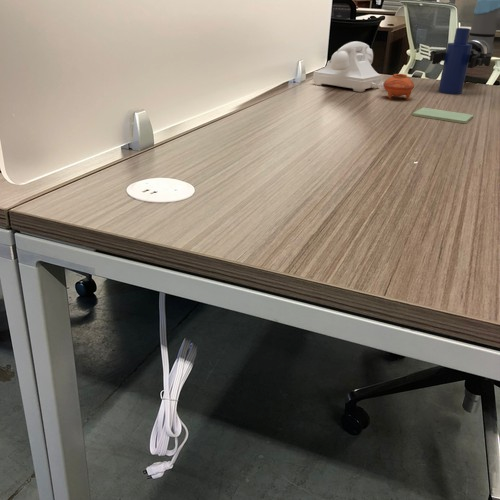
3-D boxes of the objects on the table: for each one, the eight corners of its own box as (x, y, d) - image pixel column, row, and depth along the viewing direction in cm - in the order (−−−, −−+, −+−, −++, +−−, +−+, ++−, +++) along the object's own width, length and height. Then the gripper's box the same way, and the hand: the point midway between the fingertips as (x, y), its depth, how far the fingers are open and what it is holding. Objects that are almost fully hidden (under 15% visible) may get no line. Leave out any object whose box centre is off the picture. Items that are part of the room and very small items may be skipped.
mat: (473, 117, 118) (473, 114, 118) (465, 123, 112) (465, 121, 112) (422, 109, 124) (422, 107, 124) (412, 115, 118) (412, 113, 118)
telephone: (347, 77, 166) (352, 35, 160) (406, 85, 154) (414, 41, 148) (303, 85, 149) (306, 40, 143) (366, 96, 137) (372, 47, 131)
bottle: (463, 92, 148) (477, 28, 140) (458, 95, 143) (472, 29, 135) (441, 89, 151) (454, 27, 143) (435, 92, 146) (448, 28, 138)
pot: (415, 96, 138) (419, 71, 134) (407, 107, 133) (410, 82, 129) (387, 91, 141) (389, 67, 137) (377, 102, 136) (380, 78, 132)
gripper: (506, 70, 152) (491, 79, 136) (432, 63, 163) (410, 70, 146) (513, 43, 149) (498, 49, 132) (437, 38, 159) (415, 42, 143)
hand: (452, 60), depth 139 cm, fingers open, 9 cm apart
